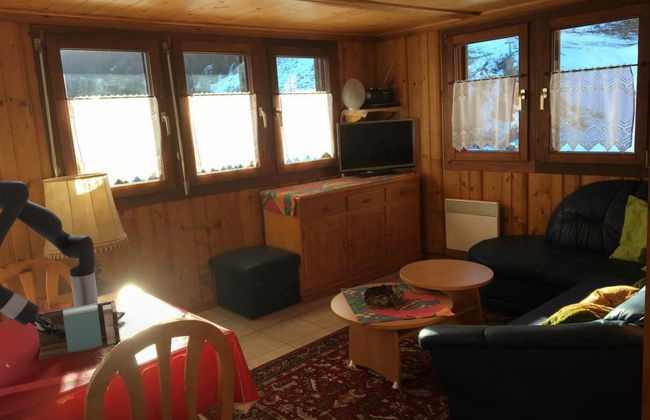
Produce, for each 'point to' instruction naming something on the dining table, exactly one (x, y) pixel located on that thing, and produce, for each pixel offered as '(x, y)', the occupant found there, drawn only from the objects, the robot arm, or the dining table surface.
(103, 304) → the open wooden box
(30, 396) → the dining table surface
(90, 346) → the rectangular block
